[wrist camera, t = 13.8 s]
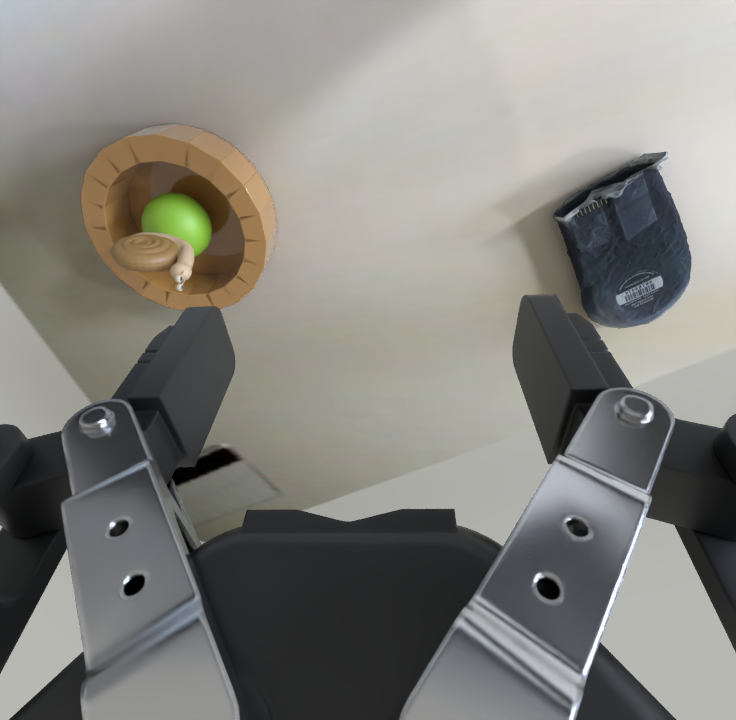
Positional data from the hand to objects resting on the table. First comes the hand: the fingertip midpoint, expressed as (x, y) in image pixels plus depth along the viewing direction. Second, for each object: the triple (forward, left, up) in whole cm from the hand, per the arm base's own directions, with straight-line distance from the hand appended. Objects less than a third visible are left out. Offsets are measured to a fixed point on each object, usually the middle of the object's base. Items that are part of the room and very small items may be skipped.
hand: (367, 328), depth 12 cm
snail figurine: (+6, -17, -28) cm, 33 cm away
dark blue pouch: (+11, +21, -29) cm, 37 cm away
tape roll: (+5, -17, -29) cm, 34 cm away
